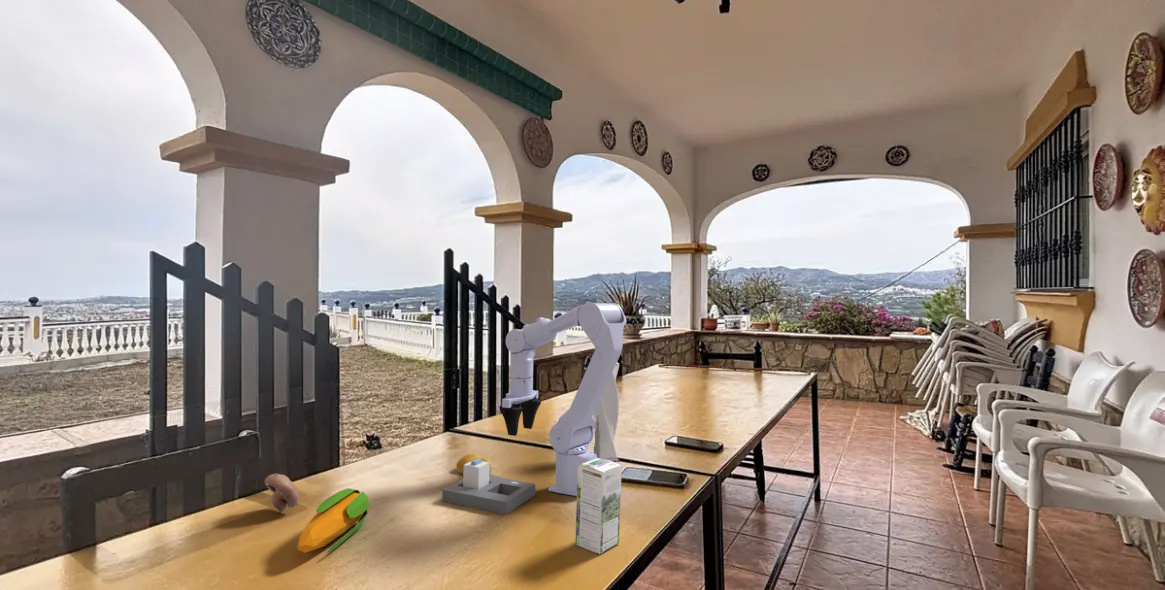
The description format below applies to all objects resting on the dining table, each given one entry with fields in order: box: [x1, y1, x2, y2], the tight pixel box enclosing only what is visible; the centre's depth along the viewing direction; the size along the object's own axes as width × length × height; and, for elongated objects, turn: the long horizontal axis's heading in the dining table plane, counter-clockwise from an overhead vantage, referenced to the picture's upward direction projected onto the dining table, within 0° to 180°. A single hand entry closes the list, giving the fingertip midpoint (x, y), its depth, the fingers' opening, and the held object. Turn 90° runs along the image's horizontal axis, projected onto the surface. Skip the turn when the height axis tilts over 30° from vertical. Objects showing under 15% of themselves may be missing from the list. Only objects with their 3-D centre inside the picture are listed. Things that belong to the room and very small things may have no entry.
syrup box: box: [574, 458, 622, 555], centre depth 93 cm, size 6×6×14 cm
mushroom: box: [264, 473, 300, 513], centre depth 104 cm, size 8×6×8 cm
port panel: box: [441, 474, 536, 516], centre depth 114 cm, size 16×12×3 cm
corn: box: [296, 488, 370, 554], centre depth 93 cm, size 7×8×20 cm
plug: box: [462, 458, 490, 490], centre depth 116 cm, size 4×4×8 cm
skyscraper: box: [593, 362, 620, 462], centre depth 146 cm, size 8×8×28 cm
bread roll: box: [455, 453, 493, 474], centre depth 132 cm, size 8×9×4 cm
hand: (520, 431), depth 131 cm, fingers open, 7 cm apart
